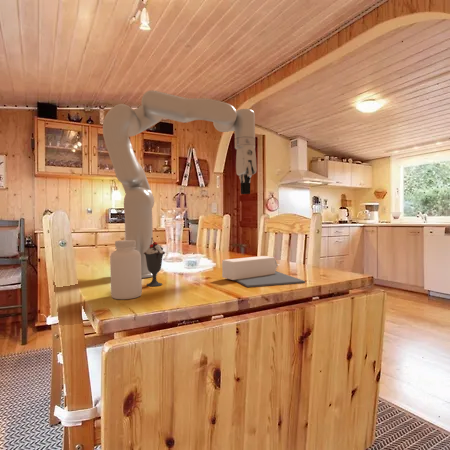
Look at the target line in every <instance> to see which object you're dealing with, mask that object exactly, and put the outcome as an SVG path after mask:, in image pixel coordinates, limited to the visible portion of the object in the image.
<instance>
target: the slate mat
mask: <svg viewBox="0 0 450 450" xmlns="http://www.w3.org/2000/svg"><path fill="white" fill-rule="evenodd" d="M233 281H235V282H236V283H238V284H241V286H244V287H246V288H257V287H269V286H270V287H272V286H282V285H284V284H285V285H295V284H296V283H298V284H305V283H306V280H304V279H300V278H298V277H296V276H295V277H294V276H291V275H288V274H285V273H282V272H280V271H277V270H276V272H275V274H271V275H264V276H257V277H250V278H243V279H237V280H233Z"/></svg>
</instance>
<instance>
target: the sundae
mask: <svg viewBox="0 0 450 450" xmlns="http://www.w3.org/2000/svg"><path fill="white" fill-rule="evenodd" d="M151 239H152V240H153V244H152V240H151V245H150V247H149V248H148V250H147V252H144V254H145V256H146V262H147V268H148V271H149V272H150V273H152V275H153V277H152V280H151V282H148V283H146V286H147V287H151V288H152V287H155V288H157V287H160V286H163V283H161V282H158V280H157V275H158V273H159V272H160V271H161V268H162V263H163V257H164V255H165V253H166V252H165V251H164V247H162V246H161V245H159V244H158V242H155V241H154V237H152V238H151ZM156 274H157V275H156Z"/></svg>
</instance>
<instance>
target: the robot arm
mask: <svg viewBox="0 0 450 450" xmlns="http://www.w3.org/2000/svg"><path fill="white" fill-rule="evenodd" d="M163 119H166V120H171V121H175V122H179V123H184V124H185V123H190V122H193V121H207V122H213V123H212V124H213V126H214V127H213V128H215V130H217V131H218V132H219V133H220V132H221V133H228V132H234V149H235V150H236V153H235V154H236V155H235V157H236V159H235V172H236V176H238V178H239V181H240V194H241V195H250V194H251V180H252V179H251V178H252V176H253V175H255V174H256V173H257V157H256V115H255V112H254V110H252V109H250V108H241V109H236V108H235V107H234V106H233V105H232V104H230V103H227V102H225V101H220V100H216V99H212V98H205V97H204V98H203V97H202V98H201V97H199V98H197V97H194V98H192V97H191V98H189V97H188V98H187V97H183V96H178V95H175V94H170V93H167V92H162V91H157V90H147V91H146V92H144V94H143V95H142V96H141V105H140V106H138V107H137V108H135V109H133V108H132V107H131V106H129V105H128V104H125V103H119V104H116V105H114V106H113V107H111V108H110V109H109V110H108V111H107V113H106V115H105V116H104V118H103V122H102V135H103V139H104V143H105V148H106V149H107V153H108V156H109V158H110V161H111V164H112V165H111V166H112V168H113V170H114V174H115V177H116V179H117V180H118V182H120V183H121V184H122V187H123V191H124V192H125V195H124V199H123V211H124V236H125V237H124V238H125V239H124V240H135V241H136V246H135V247H136V248H135V250H137V251H139V252H140V254H141V279H145V278H146V279H147V278H151V277H152V278H153V275H152V273H150V272H149V271H148V268H147V262H146V256H145V254H144V252H147V250H148V248H149V247H150V245H151V240H152V239H151V238H152V237H153V231H154V230H153V208H154V207H155V206H154V205H155V196H154V194H153V191H152V188H151V186H150V184H149V181H148V177H147V175H146V173H145V170H144V168H143V166H142V165H141V164H140V162H139V160H138V159H137V157H136V154H135V151H134V148H133V144H132V143H131V140H130V137H134V136H137V135H139V134H141V133H143V132H144V131H146V130H148V129H150V128H151V127H153V126H154V125H156V124H157V123H160V122H161V121H162V120H163ZM153 238H154V237H153ZM153 243H154V239H153V240H152V244H153ZM156 276H158V273H157V274H156Z"/></svg>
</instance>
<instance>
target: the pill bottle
mask: <svg viewBox="0 0 450 450" xmlns="http://www.w3.org/2000/svg"><path fill="white" fill-rule="evenodd" d="M135 246H136V241H135V240H125V239H123V240H115V241H114V247H115V249H116V250H115V251H113V252H112V253H110V257H109V260H110V261H109V263H110V266H109V267H110V269H109V270H110V295H111V298H112V299H115V300H129V299H131V300H132V299H136V298H139V297H141V295H142V293H143V292H142V291H143V287H142V284H143V283H142V279H143V278H141V254H140V252H139V251H137V250H135V248H136V247H135Z"/></svg>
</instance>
